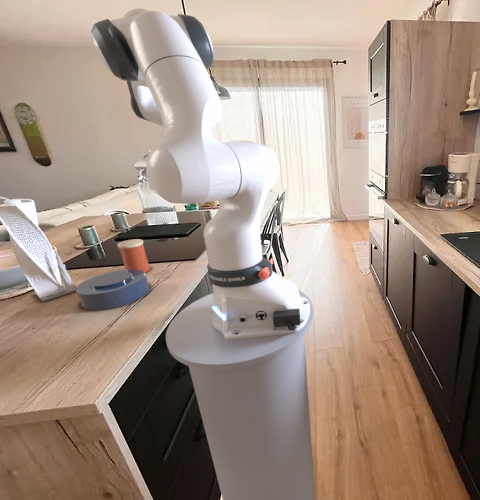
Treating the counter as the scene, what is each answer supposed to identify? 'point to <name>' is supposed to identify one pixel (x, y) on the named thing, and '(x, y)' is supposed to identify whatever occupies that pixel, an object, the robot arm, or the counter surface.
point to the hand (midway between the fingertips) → (152, 182)
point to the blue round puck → (112, 289)
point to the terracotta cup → (134, 255)
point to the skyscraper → (34, 250)
